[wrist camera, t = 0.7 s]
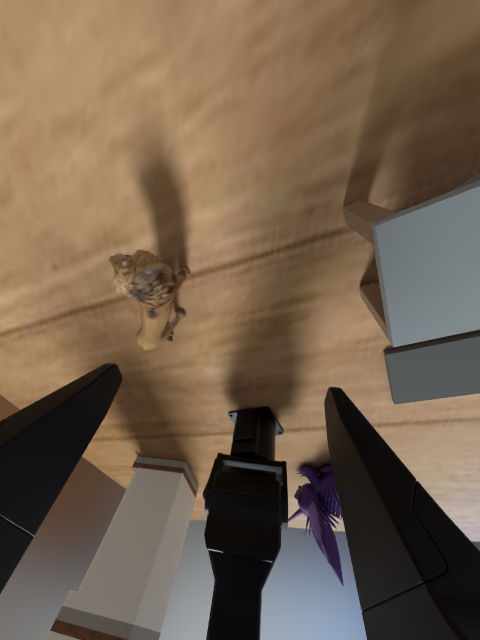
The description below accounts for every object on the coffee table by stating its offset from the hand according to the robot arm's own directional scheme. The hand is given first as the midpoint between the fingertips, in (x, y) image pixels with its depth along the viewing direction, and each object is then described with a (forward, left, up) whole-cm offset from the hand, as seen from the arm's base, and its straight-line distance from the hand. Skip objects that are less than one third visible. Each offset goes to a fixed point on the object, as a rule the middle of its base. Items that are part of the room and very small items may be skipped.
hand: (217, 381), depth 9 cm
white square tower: (-35, +34, -13) cm, 51 cm away
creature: (-38, +2, -14) cm, 41 cm away
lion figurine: (+1, +9, -14) cm, 16 cm away
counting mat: (-17, -13, -13) cm, 25 cm away
